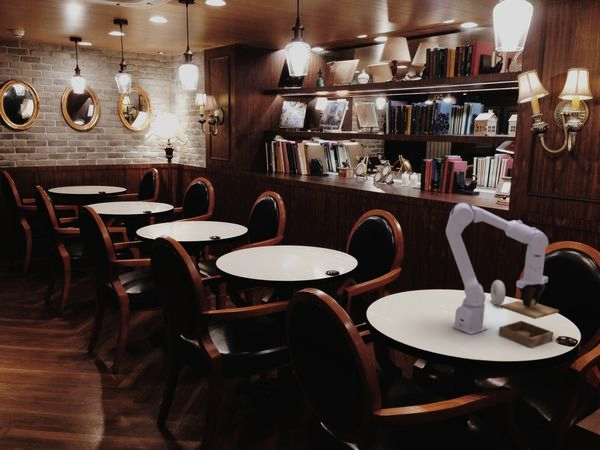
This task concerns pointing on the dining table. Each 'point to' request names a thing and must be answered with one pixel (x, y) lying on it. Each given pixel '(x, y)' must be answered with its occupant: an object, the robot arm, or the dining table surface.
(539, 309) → the lid
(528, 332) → the biscuit
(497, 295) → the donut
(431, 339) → the dining table surface
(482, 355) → the dining table surface
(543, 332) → the box
